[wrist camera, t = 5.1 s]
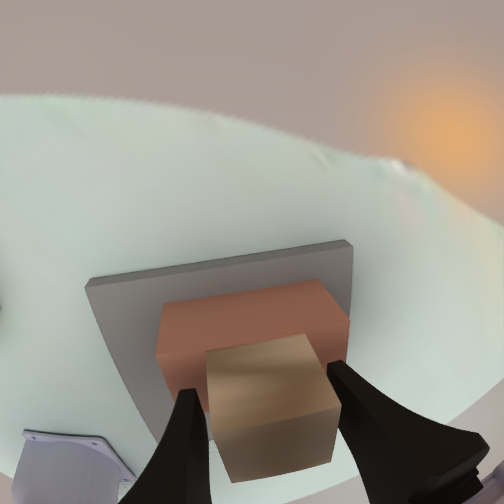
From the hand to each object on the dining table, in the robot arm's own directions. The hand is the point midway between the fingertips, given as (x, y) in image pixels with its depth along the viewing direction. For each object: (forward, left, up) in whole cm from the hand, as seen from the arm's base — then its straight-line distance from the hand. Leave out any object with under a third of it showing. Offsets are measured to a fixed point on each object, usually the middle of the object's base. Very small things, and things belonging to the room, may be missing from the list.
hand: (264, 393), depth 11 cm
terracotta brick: (0, 0, -5) cm, 5 cm away
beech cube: (0, 0, -1) cm, 1 cm away
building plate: (-1, -4, -6) cm, 7 cm away
